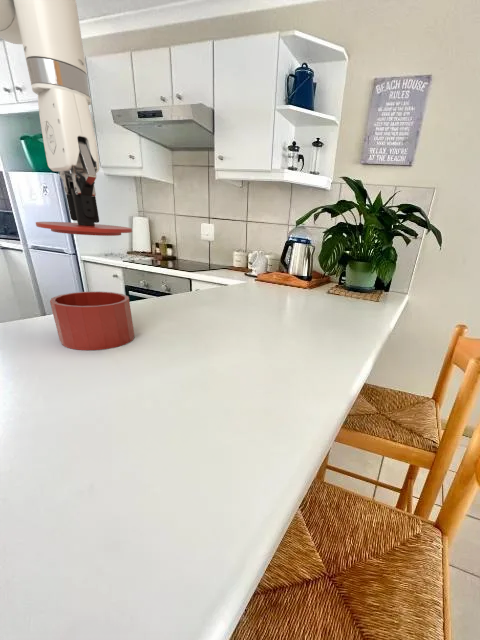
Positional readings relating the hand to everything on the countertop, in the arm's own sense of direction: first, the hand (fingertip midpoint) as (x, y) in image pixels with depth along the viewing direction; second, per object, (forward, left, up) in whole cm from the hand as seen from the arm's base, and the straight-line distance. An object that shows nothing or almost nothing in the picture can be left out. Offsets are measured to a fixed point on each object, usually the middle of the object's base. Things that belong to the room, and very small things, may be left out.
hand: (85, 220), depth 57 cm
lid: (0, 0, -1) cm, 1 cm away
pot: (-3, 0, -23) cm, 23 cm away
